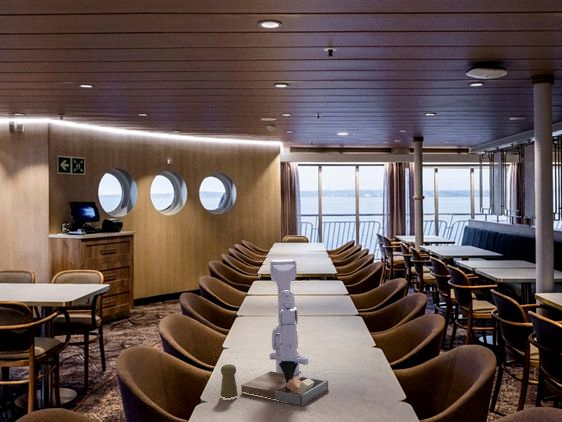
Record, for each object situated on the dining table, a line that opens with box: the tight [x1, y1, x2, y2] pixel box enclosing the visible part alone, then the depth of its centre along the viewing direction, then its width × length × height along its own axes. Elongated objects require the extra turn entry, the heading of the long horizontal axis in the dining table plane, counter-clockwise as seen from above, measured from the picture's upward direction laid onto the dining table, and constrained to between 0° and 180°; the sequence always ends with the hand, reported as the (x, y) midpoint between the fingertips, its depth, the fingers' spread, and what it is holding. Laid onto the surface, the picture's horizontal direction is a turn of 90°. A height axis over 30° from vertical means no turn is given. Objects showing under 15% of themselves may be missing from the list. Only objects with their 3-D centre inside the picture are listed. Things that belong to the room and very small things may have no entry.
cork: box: [220, 363, 239, 398], centre depth 189 cm, size 6×6×11 cm
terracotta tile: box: [286, 377, 302, 394], centre depth 190 cm, size 4×4×2 cm
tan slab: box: [240, 371, 302, 399], centre depth 196 cm, size 18×14×3 cm
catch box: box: [275, 376, 329, 407], centre depth 189 cm, size 18×10×3 cm, turn 147°
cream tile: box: [297, 377, 314, 395], centre depth 188 cm, size 4×4×2 cm
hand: (289, 382), depth 192 cm, fingers closed
